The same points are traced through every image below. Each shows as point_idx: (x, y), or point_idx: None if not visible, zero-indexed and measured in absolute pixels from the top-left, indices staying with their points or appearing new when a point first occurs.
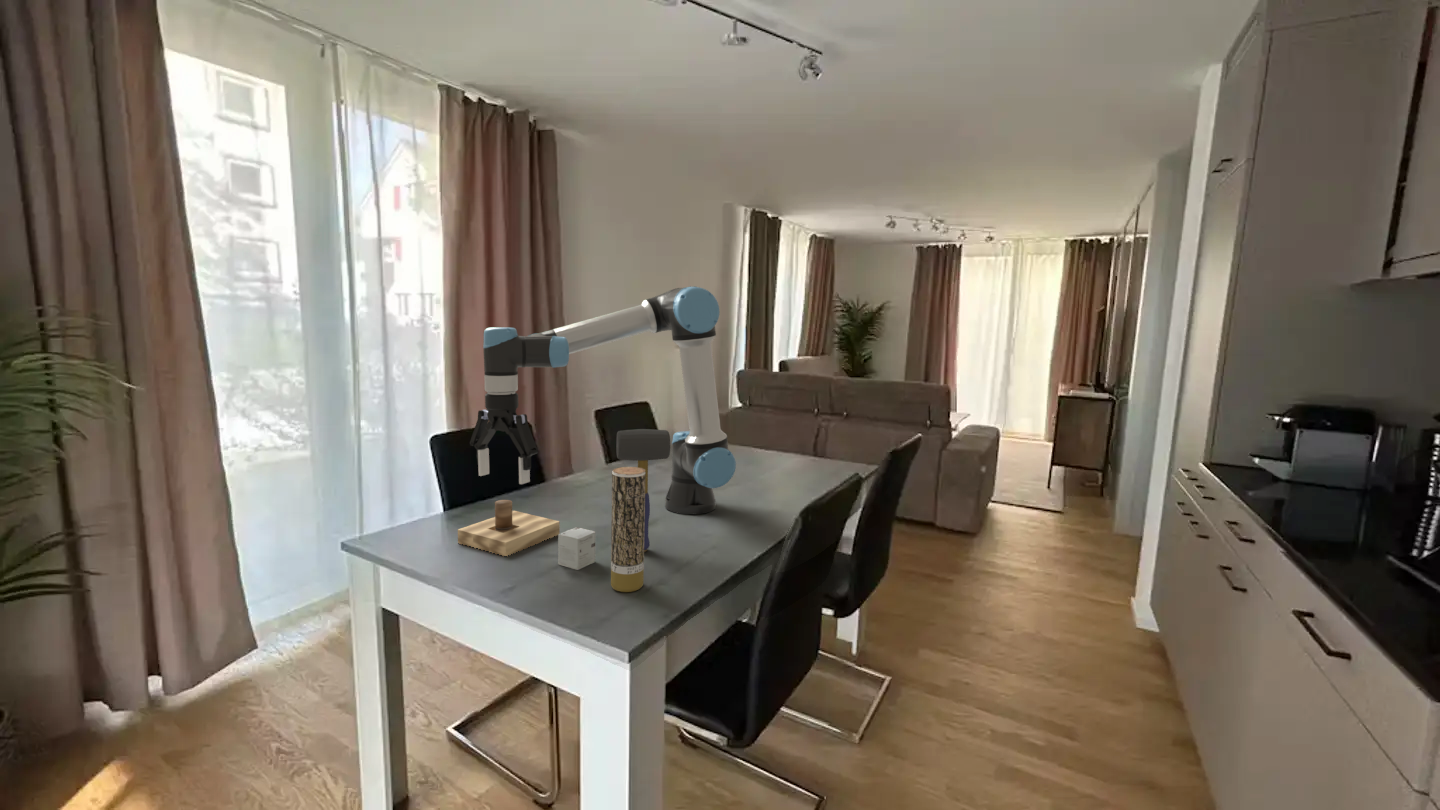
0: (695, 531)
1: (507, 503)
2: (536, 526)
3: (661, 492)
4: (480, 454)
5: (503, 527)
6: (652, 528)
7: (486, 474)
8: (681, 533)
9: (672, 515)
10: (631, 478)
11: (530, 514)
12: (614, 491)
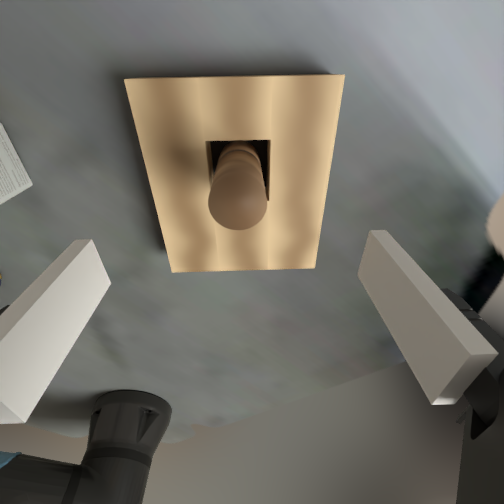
0: None
1: (213, 201)
2: (180, 224)
3: (213, 422)
4: (443, 325)
5: (221, 159)
6: (89, 343)
7: (361, 261)
8: None
9: (121, 383)
10: None
11: (261, 269)
12: None
